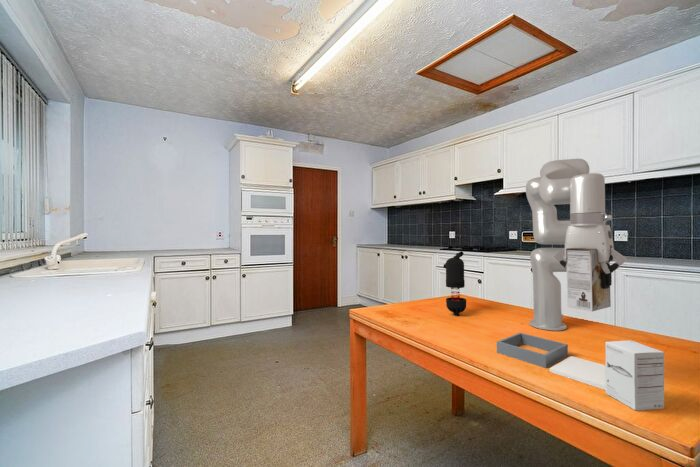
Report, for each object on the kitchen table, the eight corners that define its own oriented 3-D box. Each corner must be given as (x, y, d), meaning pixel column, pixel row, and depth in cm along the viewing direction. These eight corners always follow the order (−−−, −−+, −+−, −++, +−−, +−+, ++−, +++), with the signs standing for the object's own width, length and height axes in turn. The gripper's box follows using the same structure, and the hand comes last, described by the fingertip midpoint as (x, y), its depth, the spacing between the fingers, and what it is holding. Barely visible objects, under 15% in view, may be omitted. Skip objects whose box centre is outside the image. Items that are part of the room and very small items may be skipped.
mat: (571, 359, 95) (571, 355, 95) (631, 376, 83) (631, 372, 83) (549, 371, 87) (549, 368, 87) (613, 392, 75) (613, 388, 75)
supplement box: (604, 394, 75) (603, 341, 75) (632, 392, 76) (632, 339, 76) (634, 411, 68) (634, 353, 68) (666, 409, 68) (665, 351, 68)
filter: (472, 317, 142) (471, 251, 142) (455, 319, 139) (454, 251, 139) (453, 310, 155) (452, 249, 155) (437, 312, 152) (436, 250, 152)
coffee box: (584, 302, 90) (583, 246, 90) (611, 307, 84) (610, 247, 84) (566, 306, 86) (565, 247, 86) (593, 312, 80) (592, 248, 80)
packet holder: (520, 342, 110) (520, 332, 110) (567, 355, 98) (567, 344, 98) (496, 352, 101) (496, 341, 101) (545, 368, 89) (545, 355, 89)
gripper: (633, 219, 80) (635, 289, 80) (557, 221, 94) (558, 281, 94) (624, 218, 76) (625, 292, 76) (546, 221, 90) (547, 283, 90)
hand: (588, 285), depth 85 cm, fingers closed on coffee box, 6 cm apart
